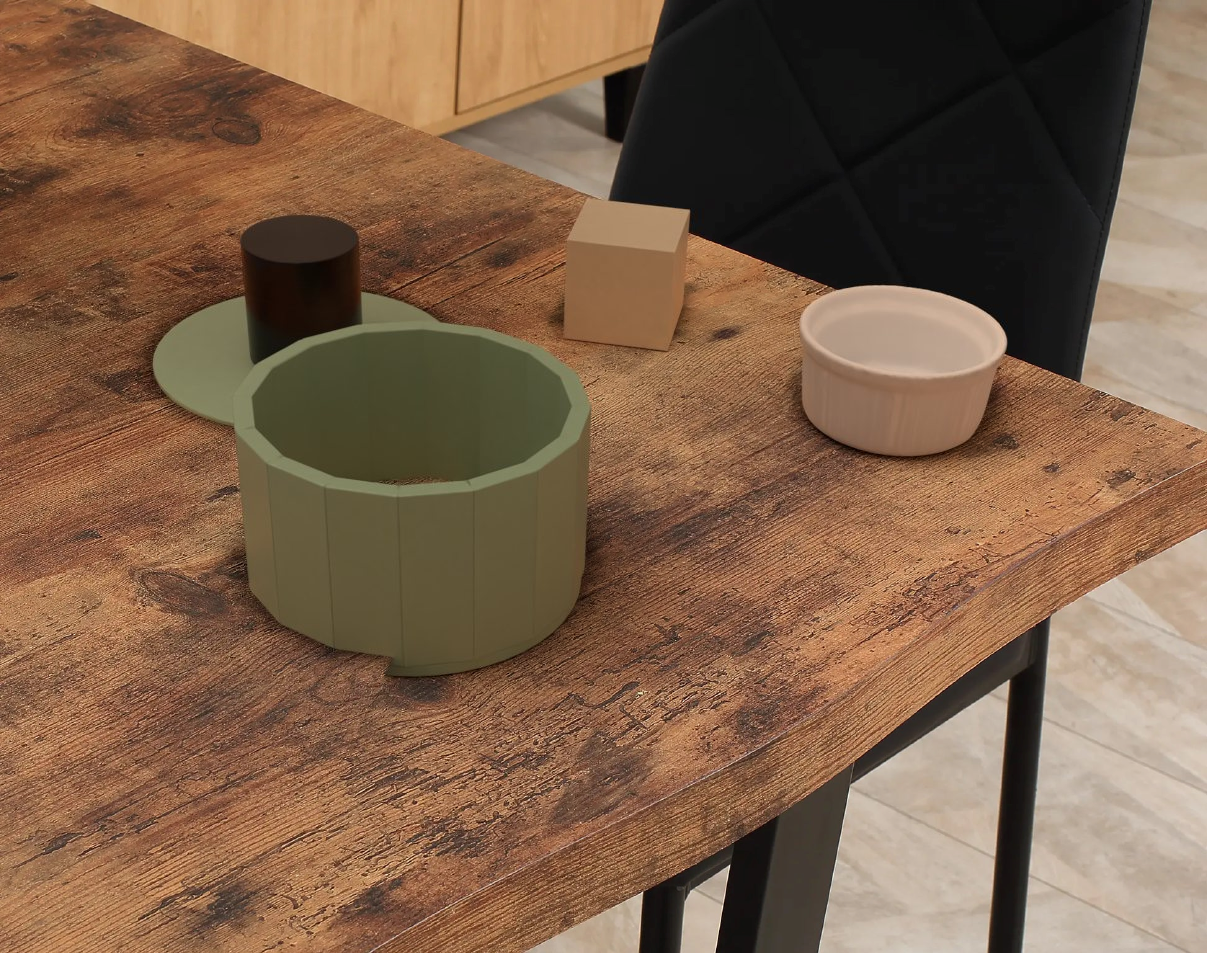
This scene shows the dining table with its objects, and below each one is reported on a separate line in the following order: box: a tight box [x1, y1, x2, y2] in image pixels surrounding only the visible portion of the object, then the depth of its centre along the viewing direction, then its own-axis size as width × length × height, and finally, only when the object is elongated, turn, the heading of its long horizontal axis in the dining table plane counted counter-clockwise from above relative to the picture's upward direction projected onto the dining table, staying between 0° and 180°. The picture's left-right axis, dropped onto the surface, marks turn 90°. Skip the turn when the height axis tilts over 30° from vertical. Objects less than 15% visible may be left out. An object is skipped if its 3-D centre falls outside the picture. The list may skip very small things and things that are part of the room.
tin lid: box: [152, 214, 440, 428], centre depth 76 cm, size 13×13×7 cm
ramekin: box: [798, 284, 1008, 457], centre depth 75 cm, size 9×9×4 cm
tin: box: [232, 321, 593, 678], centre depth 63 cm, size 12×12×8 cm
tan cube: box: [562, 198, 691, 352], centre depth 82 cm, size 5×5×5 cm
